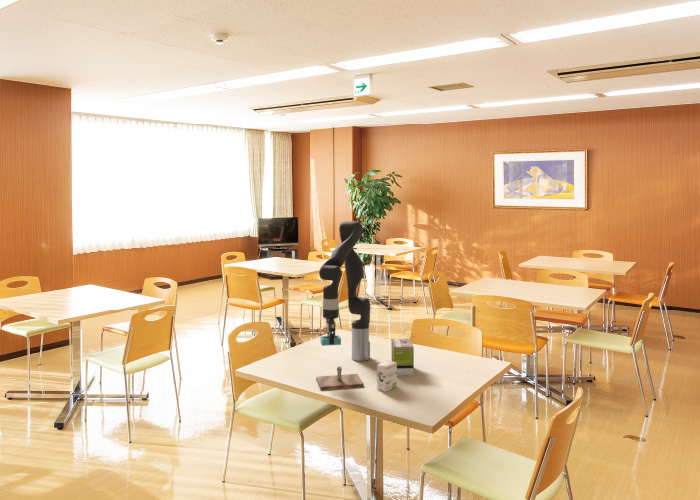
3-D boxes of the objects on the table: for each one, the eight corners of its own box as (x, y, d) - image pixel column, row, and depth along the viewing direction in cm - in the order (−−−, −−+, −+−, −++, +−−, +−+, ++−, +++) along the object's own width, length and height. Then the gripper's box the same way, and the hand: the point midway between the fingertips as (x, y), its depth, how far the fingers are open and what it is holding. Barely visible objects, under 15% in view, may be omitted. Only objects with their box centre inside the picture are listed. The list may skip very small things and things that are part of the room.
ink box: (388, 384, 253) (388, 359, 252) (397, 387, 250) (397, 362, 248) (376, 389, 247) (376, 364, 246) (385, 392, 243) (385, 366, 242)
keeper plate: (357, 376, 264) (357, 360, 263) (363, 386, 250) (363, 369, 249) (316, 379, 260) (315, 363, 259) (320, 390, 246) (320, 372, 245)
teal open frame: (338, 341, 262) (338, 335, 262) (340, 344, 256) (340, 338, 256) (320, 342, 261) (320, 336, 260) (321, 345, 255) (321, 339, 255)
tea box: (390, 366, 280) (391, 338, 278) (410, 366, 280) (410, 337, 278) (393, 376, 265) (393, 346, 263) (414, 375, 265) (414, 346, 263)
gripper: (340, 310, 251) (340, 346, 252) (336, 304, 265) (336, 338, 266) (324, 310, 249) (324, 346, 251) (320, 304, 263) (320, 339, 265)
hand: (330, 342), depth 259 cm, fingers closed on teal open frame, 6 cm apart
